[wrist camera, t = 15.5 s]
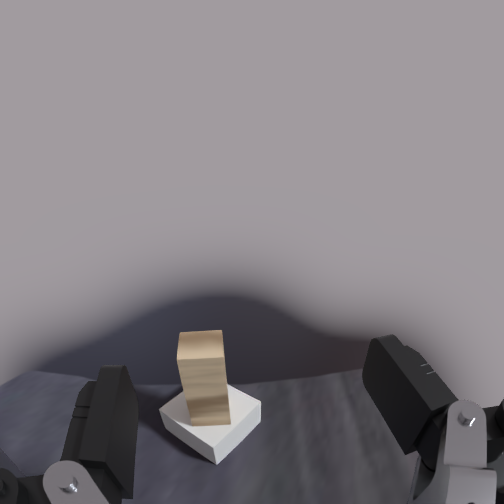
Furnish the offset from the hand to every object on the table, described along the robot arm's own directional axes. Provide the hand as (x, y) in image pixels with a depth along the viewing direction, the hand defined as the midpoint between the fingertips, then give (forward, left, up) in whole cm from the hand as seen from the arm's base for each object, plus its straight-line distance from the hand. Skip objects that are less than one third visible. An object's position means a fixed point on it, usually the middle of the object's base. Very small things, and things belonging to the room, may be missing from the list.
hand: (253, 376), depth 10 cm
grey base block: (-13, +18, -32) cm, 39 cm away
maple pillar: (-12, +18, -27) cm, 35 cm away
